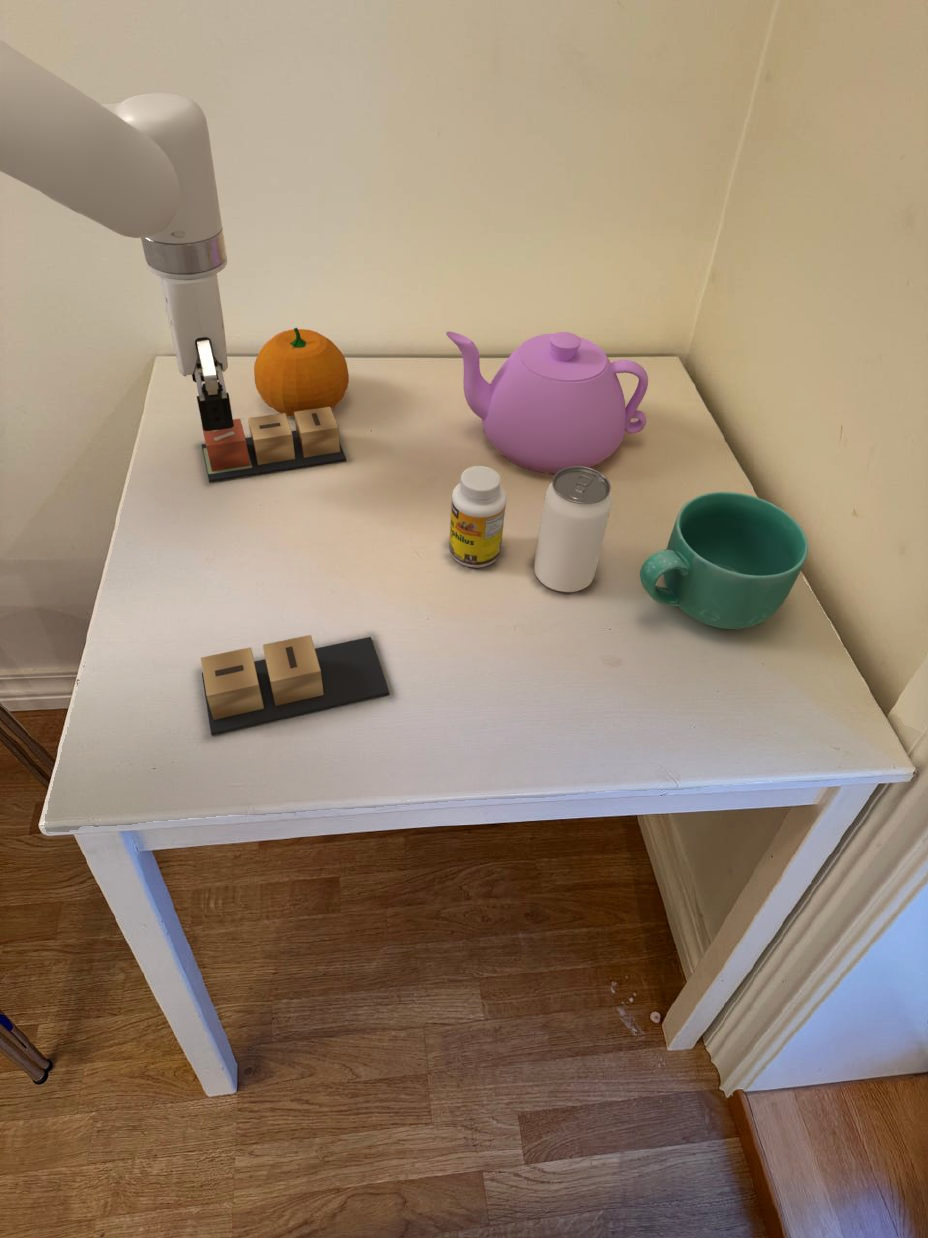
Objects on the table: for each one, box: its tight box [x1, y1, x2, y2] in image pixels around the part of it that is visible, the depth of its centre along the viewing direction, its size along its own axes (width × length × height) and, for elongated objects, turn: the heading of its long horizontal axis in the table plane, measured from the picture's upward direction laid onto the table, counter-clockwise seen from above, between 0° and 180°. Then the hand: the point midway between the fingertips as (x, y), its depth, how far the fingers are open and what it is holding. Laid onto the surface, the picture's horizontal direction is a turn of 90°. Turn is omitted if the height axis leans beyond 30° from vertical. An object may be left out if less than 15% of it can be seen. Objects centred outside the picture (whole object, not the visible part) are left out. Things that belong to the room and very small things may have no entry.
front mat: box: [201, 636, 390, 736], centre depth 76 cm, size 16×7×1 cm, turn 108°
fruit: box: [253, 327, 350, 417], centre depth 103 cm, size 12×12×10 cm
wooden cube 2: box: [262, 634, 324, 706], centre depth 75 cm, size 4×4×4 cm
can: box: [533, 466, 613, 594], centre depth 84 cm, size 6×6×12 cm
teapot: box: [445, 331, 649, 475], centre depth 99 cm, size 25×18×14 cm
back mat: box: [201, 430, 347, 483], centre depth 99 cm, size 16×7×1 cm, turn 108°
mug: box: [639, 491, 809, 630], centre depth 83 cm, size 17×13×10 cm
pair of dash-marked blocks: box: [247, 407, 341, 465], centre depth 98 cm, size 10×4×4 cm, turn 108°
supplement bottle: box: [448, 465, 507, 569], centre depth 86 cm, size 6×6×10 cm
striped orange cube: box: [201, 418, 250, 471], centre depth 96 cm, size 4×4×4 cm
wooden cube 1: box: [200, 647, 264, 720], centre depth 73 cm, size 4×4×4 cm
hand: (212, 403), depth 91 cm, fingers open, 9 cm apart
